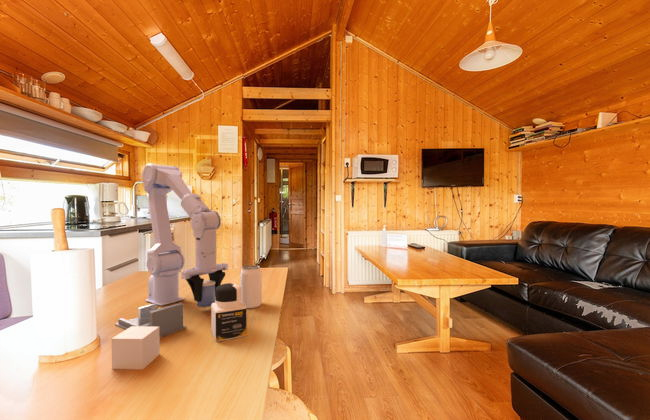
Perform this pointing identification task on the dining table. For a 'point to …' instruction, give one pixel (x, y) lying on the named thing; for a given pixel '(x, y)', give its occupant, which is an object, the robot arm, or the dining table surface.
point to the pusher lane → (160, 320)
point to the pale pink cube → (135, 347)
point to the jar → (207, 294)
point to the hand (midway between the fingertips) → (206, 298)
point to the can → (251, 286)
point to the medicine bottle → (228, 313)
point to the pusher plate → (145, 313)
